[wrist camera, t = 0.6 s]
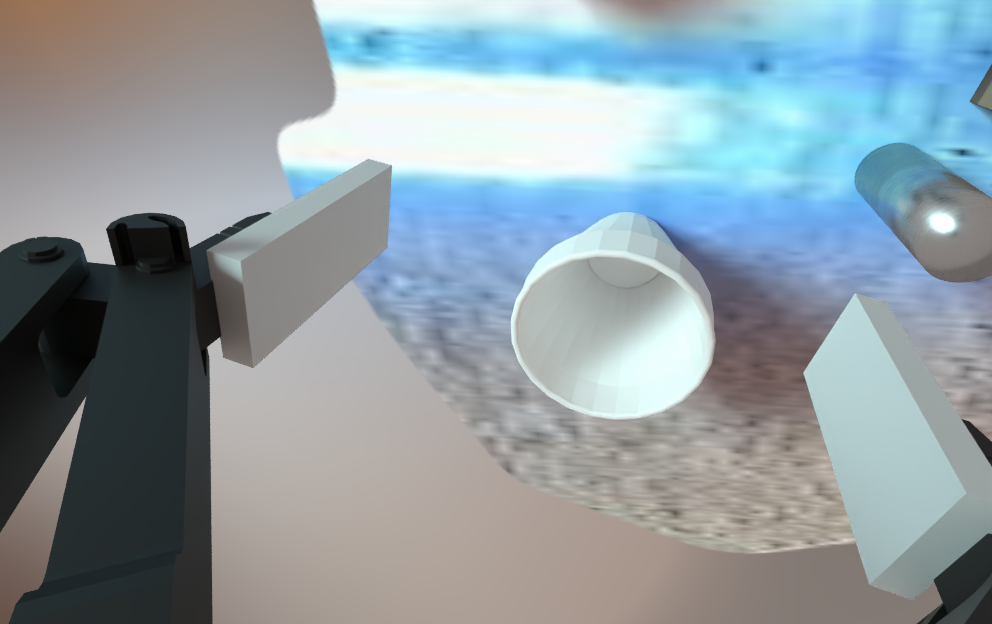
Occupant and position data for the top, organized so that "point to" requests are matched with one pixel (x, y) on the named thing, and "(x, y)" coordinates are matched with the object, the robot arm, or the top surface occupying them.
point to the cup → (615, 321)
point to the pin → (929, 211)
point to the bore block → (984, 91)
